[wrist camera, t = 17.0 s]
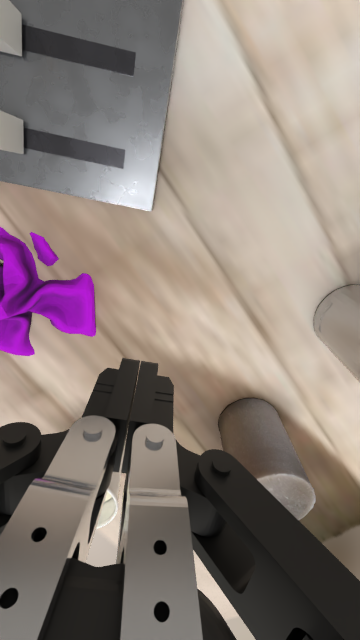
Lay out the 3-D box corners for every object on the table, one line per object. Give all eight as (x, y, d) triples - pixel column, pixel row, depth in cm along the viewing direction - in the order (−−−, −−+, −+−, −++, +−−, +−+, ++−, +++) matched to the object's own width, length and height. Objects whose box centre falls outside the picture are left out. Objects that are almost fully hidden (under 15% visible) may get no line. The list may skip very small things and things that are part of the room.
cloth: (124, 316, 42) (116, 337, 36) (22, 376, 45) (1, 403, 40) (8, 159, 34) (-26, 154, 28) (-104, 246, 38) (-154, 257, 32)
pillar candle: (218, 446, 51) (236, 543, 37) (217, 399, 47) (236, 488, 33) (277, 441, 50) (316, 537, 37) (280, 394, 47) (326, 481, 33)
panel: (198, -99, 26) (200, -122, 24) (152, 210, 36) (151, 211, 34) (-50, -172, 24) (-70, -204, 22) (-26, 173, 34) (-39, 173, 32)
